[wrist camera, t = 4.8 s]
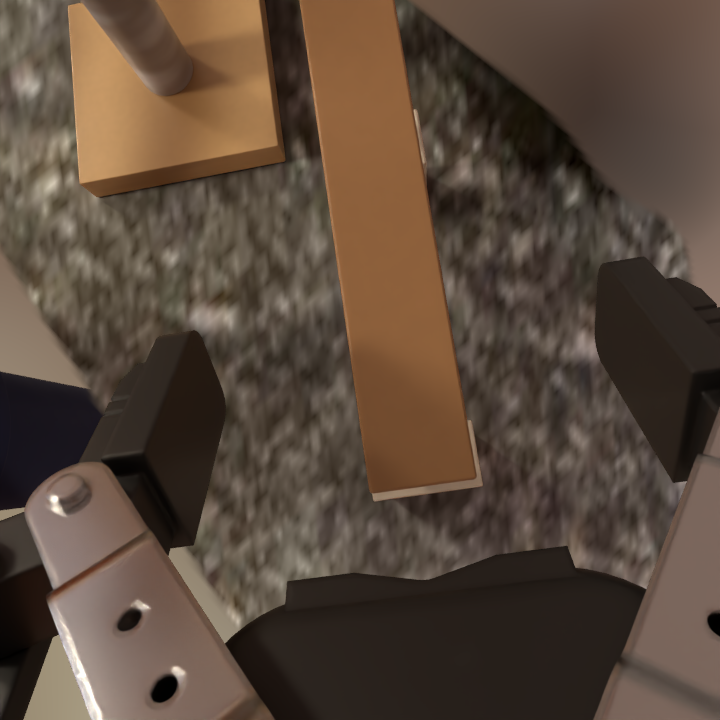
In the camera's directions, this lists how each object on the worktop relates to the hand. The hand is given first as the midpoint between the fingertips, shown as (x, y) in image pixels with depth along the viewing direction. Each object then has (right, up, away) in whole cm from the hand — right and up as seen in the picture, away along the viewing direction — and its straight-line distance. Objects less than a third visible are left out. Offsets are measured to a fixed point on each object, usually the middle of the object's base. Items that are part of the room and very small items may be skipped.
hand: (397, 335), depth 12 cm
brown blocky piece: (+1, +1, +16) cm, 16 cm away
